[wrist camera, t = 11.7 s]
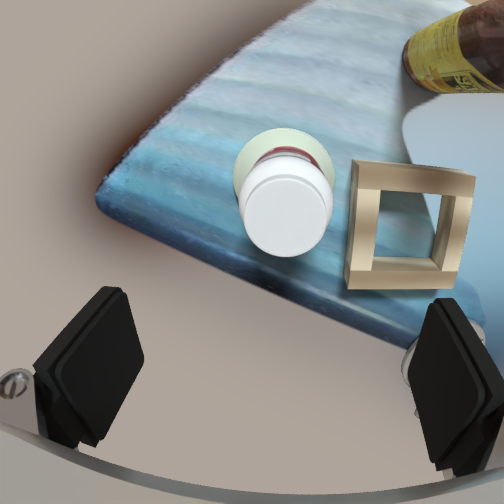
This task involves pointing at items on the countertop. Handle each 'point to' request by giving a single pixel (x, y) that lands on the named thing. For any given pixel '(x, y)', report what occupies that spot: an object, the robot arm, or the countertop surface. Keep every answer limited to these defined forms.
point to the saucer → (277, 139)
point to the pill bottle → (286, 202)
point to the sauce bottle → (460, 51)
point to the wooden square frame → (366, 217)
